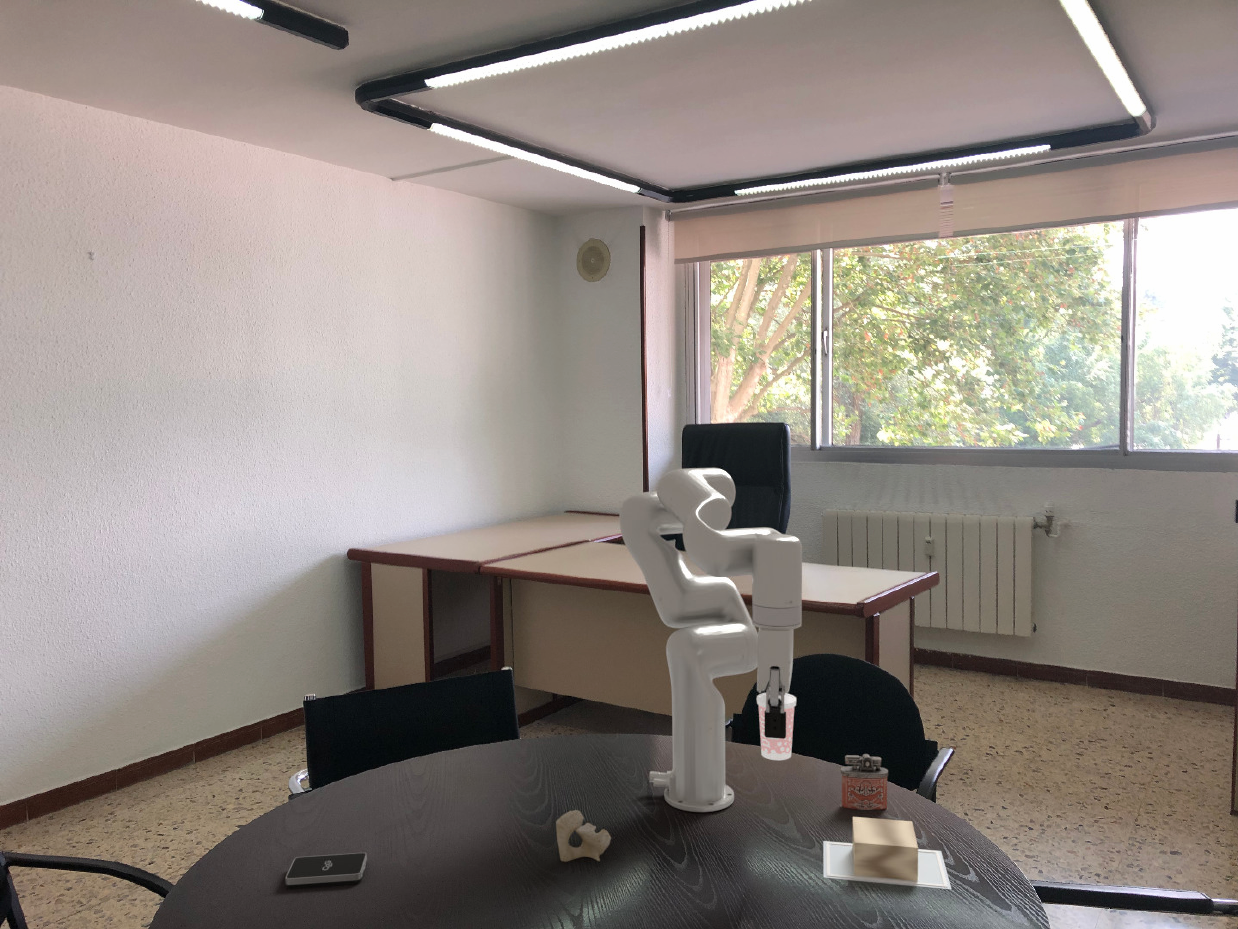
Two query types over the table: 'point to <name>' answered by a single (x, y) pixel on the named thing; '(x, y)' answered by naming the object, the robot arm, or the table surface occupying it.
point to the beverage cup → (777, 746)
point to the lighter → (864, 783)
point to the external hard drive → (326, 870)
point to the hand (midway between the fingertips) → (776, 728)
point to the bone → (591, 841)
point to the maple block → (885, 849)
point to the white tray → (842, 867)
